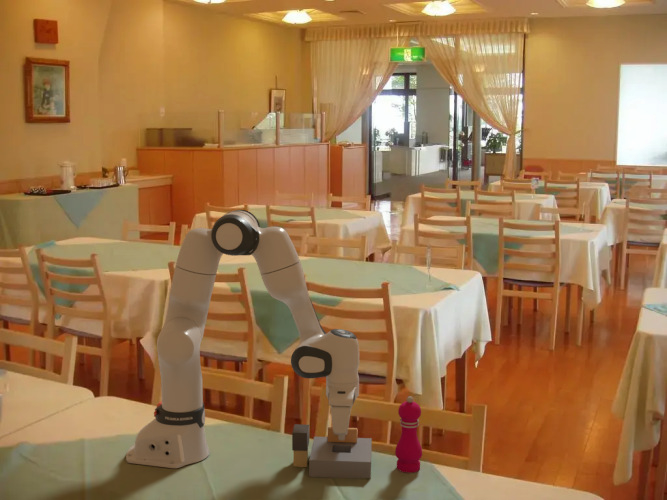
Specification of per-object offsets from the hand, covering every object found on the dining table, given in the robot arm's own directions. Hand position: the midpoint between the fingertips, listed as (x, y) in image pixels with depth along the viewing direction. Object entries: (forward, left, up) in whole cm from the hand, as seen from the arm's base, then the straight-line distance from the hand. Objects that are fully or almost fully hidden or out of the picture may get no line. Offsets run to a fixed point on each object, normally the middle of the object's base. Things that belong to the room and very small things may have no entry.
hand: (341, 438), depth 220 cm
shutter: (0, +6, -2) cm, 6 cm away
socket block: (0, -3, -7) cm, 7 cm away
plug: (-11, -3, -7) cm, 13 cm away
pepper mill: (+18, -3, -7) cm, 20 cm away
